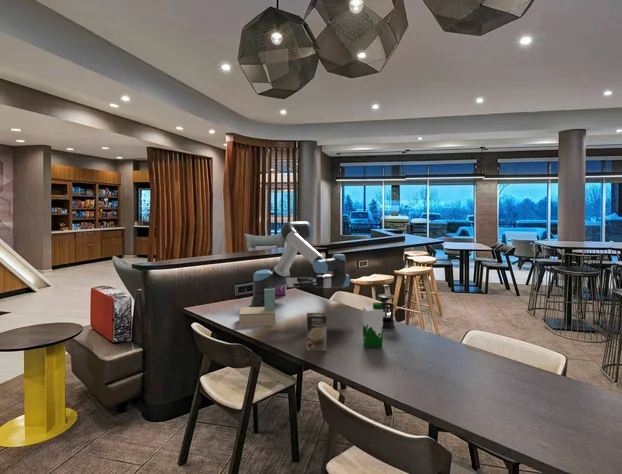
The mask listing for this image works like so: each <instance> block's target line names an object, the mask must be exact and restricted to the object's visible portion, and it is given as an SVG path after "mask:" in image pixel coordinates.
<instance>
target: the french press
mask: <svg viewBox="0 0 622 474" xmlns="http://www.w3.org/2000/svg"><path fill="white" fill-rule="evenodd" d="M381 286H383V287H384V288H385V293H382V294H381V293H380V294H378V295H377V297H378V300H379V301H381V302H380V303H381V304H382V309H383V310H389V312H387V311H383V329H394V328H395V319H394V316H395V315H394V308H395V304H394V303H392V302H389V300H394V298H395V295H393V294H389V293H388V294H387V289H388V287H391V284H382V285H381ZM384 305H385V306H384Z"/></svg>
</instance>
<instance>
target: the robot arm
mask: <svg viewBox="0 0 622 474" xmlns="http://www.w3.org/2000/svg"><path fill="white" fill-rule="evenodd" d="M280 236H281V238H282V240H283V241H284V242H285V243H286V246H285V248H284V250H283V252H282V254H281V257H280V259H279V261H278V263H277V265H275V266H274V267H273V270H270V269H260V270H257V271H255V272H253V295H252V300H251V302H250V303H251V307H265V299H264V289H271V288H275V287H281V286H285V285H286V287H287V288H301V289H302V288H303V289H304V288H309V287H316V288H317V289H323V288H324V289H325V288H327V289H329V288H347V287H349V286H350V282H351V281H350V280H351V279H350V278H351V277H350V275H349V274H348V273H346V271H347V267H346V264H347V263H346V262H347V260H346V255H345V254H343V253H335V254H332V257H331V258H325V257H324V256H323V255H322V254H321V253H320V252H319V251H317V250H316V249H315V248H314V247H313V246H312V245H311V244H310V243H309V242H308V241H306V240H309V239H311V238H312V237H313V227H312V225H311V223H310V222H309V221H304V220H301V221H287V222H285V223H283V225H281V227H280ZM298 253H299V254H300V255H302V256H303V257H304V258H305V259H306V260H307V261H308V262H309V263H311V265H312V269H313V272H315V273H316V274H317V275H316V277H315V278H314V277H304V276H303V277H301V276H297V277H291V273H290V269H291V266H292V264H293V263H294V260H295V259H296V256H297V254H298ZM327 273H332V274H327ZM322 274H323V275H322Z"/></svg>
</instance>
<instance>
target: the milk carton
mask: <svg viewBox="0 0 622 474" xmlns="http://www.w3.org/2000/svg"><path fill="white" fill-rule="evenodd" d="M381 303H382V302H373V303H372V305H367V306H362V340H363V341H362V342H363V344H364V346H365V348H366V349H382V348H383V336H384V335H383V334H384V332H383V331H384V328H383V318H384V317H383V312H384V309H382V306H383V305H382V304H381Z"/></svg>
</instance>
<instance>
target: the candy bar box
mask: <svg viewBox="0 0 622 474" xmlns="http://www.w3.org/2000/svg"><path fill="white" fill-rule="evenodd" d="M271 289H275V296H286V295H287V285H285V286H281V287H275V288H271Z"/></svg>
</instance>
